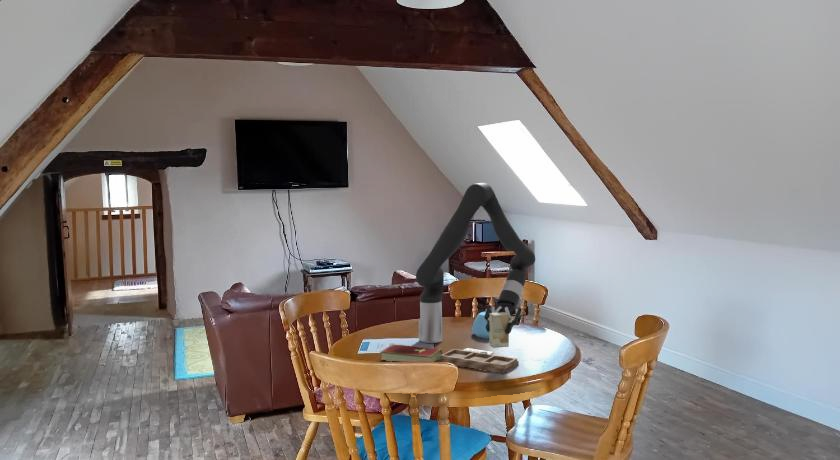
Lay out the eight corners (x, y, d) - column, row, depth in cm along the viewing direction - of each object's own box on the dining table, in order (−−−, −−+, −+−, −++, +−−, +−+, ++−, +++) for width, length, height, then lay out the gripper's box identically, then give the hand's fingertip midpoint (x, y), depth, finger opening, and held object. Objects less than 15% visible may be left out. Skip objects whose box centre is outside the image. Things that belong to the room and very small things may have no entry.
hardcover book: (393, 353, 258) (393, 343, 257) (442, 358, 250) (441, 347, 249) (380, 361, 247) (380, 351, 246) (430, 367, 239) (430, 355, 238)
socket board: (438, 363, 242) (438, 356, 241) (455, 354, 252) (455, 348, 252) (503, 374, 227) (503, 366, 226) (518, 364, 238) (518, 357, 237)
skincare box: (493, 348, 231) (492, 315, 230) (488, 345, 235) (488, 313, 234) (509, 346, 233) (509, 313, 232) (505, 344, 237) (504, 311, 236)
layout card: (458, 353, 254) (458, 351, 254) (467, 349, 260) (467, 347, 260) (485, 357, 247) (485, 355, 247) (493, 353, 253) (493, 351, 253)
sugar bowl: (508, 339, 275) (508, 312, 274) (473, 339, 275) (473, 313, 274) (504, 330, 290) (504, 305, 289) (471, 331, 290) (471, 306, 289)
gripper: (490, 287, 243) (476, 324, 234) (525, 290, 235) (511, 328, 226) (496, 299, 247) (483, 335, 239) (531, 302, 239) (518, 339, 231)
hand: (497, 331), depth 232 cm, fingers closed on skincare box, 7 cm apart
